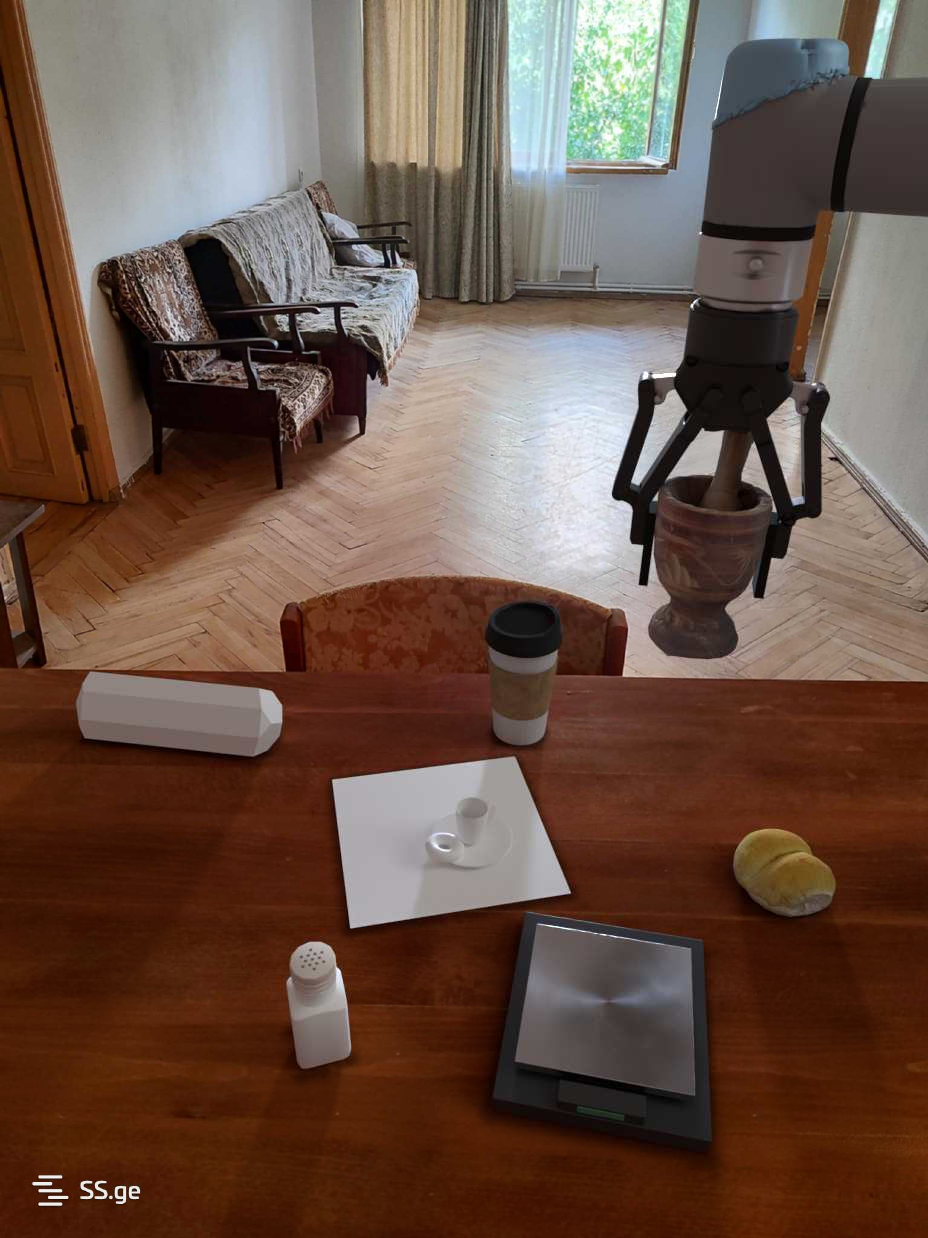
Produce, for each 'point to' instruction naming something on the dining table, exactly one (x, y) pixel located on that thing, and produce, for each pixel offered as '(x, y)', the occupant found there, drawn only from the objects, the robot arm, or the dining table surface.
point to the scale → (595, 1101)
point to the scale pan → (609, 1012)
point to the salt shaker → (317, 1006)
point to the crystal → (178, 714)
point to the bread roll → (783, 873)
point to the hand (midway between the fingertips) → (699, 584)
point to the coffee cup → (522, 668)
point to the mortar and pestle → (707, 553)
